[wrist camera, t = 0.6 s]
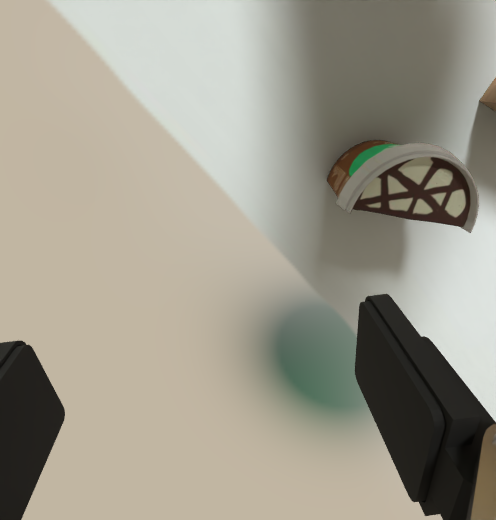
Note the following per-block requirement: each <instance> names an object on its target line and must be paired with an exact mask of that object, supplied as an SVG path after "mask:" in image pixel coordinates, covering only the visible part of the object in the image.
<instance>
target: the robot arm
mask: <svg viewBox="0 0 496 520" xmlns="http://www.w3.org/2000/svg"><path fill="white" fill-rule="evenodd" d="M355 375H356V379H357V382H358V384H359V386H360V389H361V391H362V393H363V395H364V398H365V400H366V402H367V404H368V407H369V408H370V411H371V413H372V415H373V418H374V420H375V422H376V424H377V426H378V429H379V431H380V433H381V435H382V438H383V440H384V442H385V444H386V446H387V449H388V451H389V453H390V455H391V458H392V460H393V462H394V464H395V466H396V469H397V471H398V473H399V475H400V478H401V480H402V482H403V484H404V486H405V489H406V491H407V493H408V495H409V497H410V498H411V500H412V501H413V502H419V503H420V506H421V507H422V510H423V512H424V514H425V516H429V515H436V514H441V516H442V518H443V520H496V422H495V421H494V420H493V418H492V417H491V416H490V415H489V413H488V412H487V411H486V410H485V408H484V407H483V406H482V405H481V403H480V402H479V401H478V399H477V398H476V397H475V396H474V394H473V393H472V392H471V391H470V389H469V388H468V387H467V386H466V384H465V383H464V382H463V380H462V379H461V378H460V377H459V375H458V374H457V373H456V372H455V370H454V369H453V368H452V367H451V365H450V364H449V363H448V361H447V360H446V359H445V358H444V356H443V355H442V354H441V353H440V351H439V350H438V349H437V348H436V346H435V345H434V344H433V342H432V341H431V340H430V339H429V338H427V337H425V336H424V337H421V336H420V335H419V333H418V332H417V331H416V329H415V328H414V327H413V325H412V324H411V323H410V322H409V320H408V319H407V318H406V316H405V315H404V314H403V312H402V311H401V310H400V308H399V307H398V306H397V305H396V303H395V302H394V301H393V299H392V298H391V297H390V296H389V295H388V294H382V295H374V296H368V297H366V299H365V302H361V303H360V306H359V319H358V333H357V347H356V362H355ZM64 416H65V411H64V407H63V405H62V403H61V401H60V399H59V398H58V396H57V394H56V392H55V390H54V388H53V386H52V384H51V382H50V381H49V379H48V377H47V375H46V373H45V371H44V369H43V367H42V365H41V363H40V361H39V360H38V358H37V356H36V354H35V352H34V350H33V348H32V347H31V346H30V345H26V343H25V342H23V341H13V342H4V343H0V520H21V519H22V516H23V514H24V512H25V509H26V507H27V505H28V502H29V500H30V498H31V495H32V493H33V491H34V488H35V486H36V484H37V482H38V479H39V477H40V474H41V472H42V470H43V468H44V465H45V463H46V461H47V458H48V456H49V454H50V452H51V449H52V447H53V445H54V442H55V440H56V438H57V435H58V433H59V431H60V428H61V426H62V424H63V421H64Z"/></svg>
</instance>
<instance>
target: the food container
mask: <svg viewBox="0 0 496 520" xmlns="http://www.w3.org/2000/svg"><path fill="white" fill-rule="evenodd" d="M327 181H328V183H329V184H330V186H331V187H332V189H333V190H334V192H335V194H336V195H337V197H338V200H337V202H336V204H337V205H338V206H340V207H341V208H342V209H343V210H347V211H348V212H349V213H351V211H352V209H355V210H363V211H370V212H375V213H381V214H386V215H391V216H396V217H401V218H406V219H411V220H419V221H428V222H435V223H441V224H447V225H453V226H459V227H461V228H463V229H464V230H466V231H468V232H469V233H471V231H472V229H473V227H474V225H475V222H476V218H477V215H478V207H479V197H478V191H477V187H476V184H475V182H474V180H473V178H472V175H471V173H470V172H469V171H468V169H467V168H466V166H465V165H464V164H463V163H462V162H460V161H459V160H458V159H457V158H456V157H455V156H454V155H453V154H451V153H450V152H449V151H447V150H445V149H443V148H441V147H439V146H435V145H432V144H426V143H409V144H404V145H398V144H394V143H391V142H387V141H381V140H372V141H367V142H363V143H360V144H358V145H356V146H354V147H352V148H351V149H349V150H348V151H347V152H345V153H344V154H343V155H342V156H341V157H340V158H339V159H338V160H337V162H336V163H335V164H334V166H333V167H332V169H331V171H330V173H329V176H328V178H327Z"/></svg>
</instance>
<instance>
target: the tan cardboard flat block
mask: <svg viewBox="0 0 496 520" xmlns="http://www.w3.org/2000/svg"><path fill="white" fill-rule="evenodd" d="M479 101H480V102H482V103H483V104H485V105H486V106H488V107H489V108H491V109H492V110H494V111H496V78H495V79H494V80H493V82H492V83H491V85H490V86H489V88H488V89H487V90H486V92H485V93H484V95H483V96H482V98H481V99H480V100H479Z"/></svg>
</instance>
